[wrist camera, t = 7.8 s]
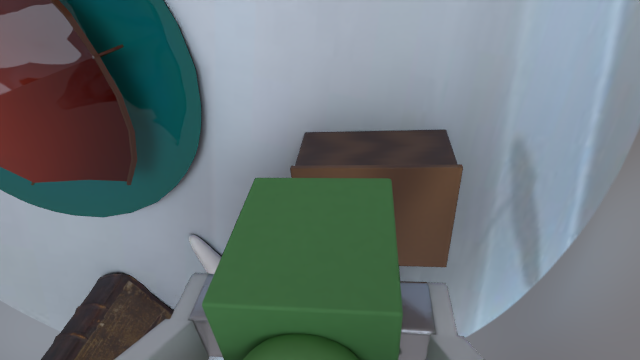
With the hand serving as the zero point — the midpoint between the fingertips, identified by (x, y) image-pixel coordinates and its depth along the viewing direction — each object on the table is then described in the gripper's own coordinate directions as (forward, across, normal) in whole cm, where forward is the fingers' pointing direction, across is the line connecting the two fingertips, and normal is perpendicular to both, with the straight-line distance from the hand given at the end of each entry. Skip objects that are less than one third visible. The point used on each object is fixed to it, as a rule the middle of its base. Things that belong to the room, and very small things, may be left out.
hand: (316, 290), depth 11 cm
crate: (+22, -2, +11) cm, 24 cm away
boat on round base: (+22, +26, 0) cm, 34 cm away
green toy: (+3, 0, 0) cm, 3 cm away
